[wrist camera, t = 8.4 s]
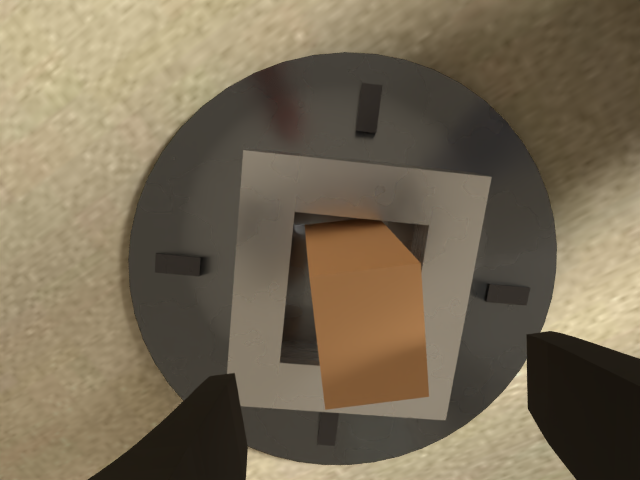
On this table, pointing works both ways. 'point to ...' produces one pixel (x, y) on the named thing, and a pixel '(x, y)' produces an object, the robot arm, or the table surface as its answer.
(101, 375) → the table surface
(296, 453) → the disc with square hole
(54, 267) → the table surface
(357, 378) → the tall tan block
